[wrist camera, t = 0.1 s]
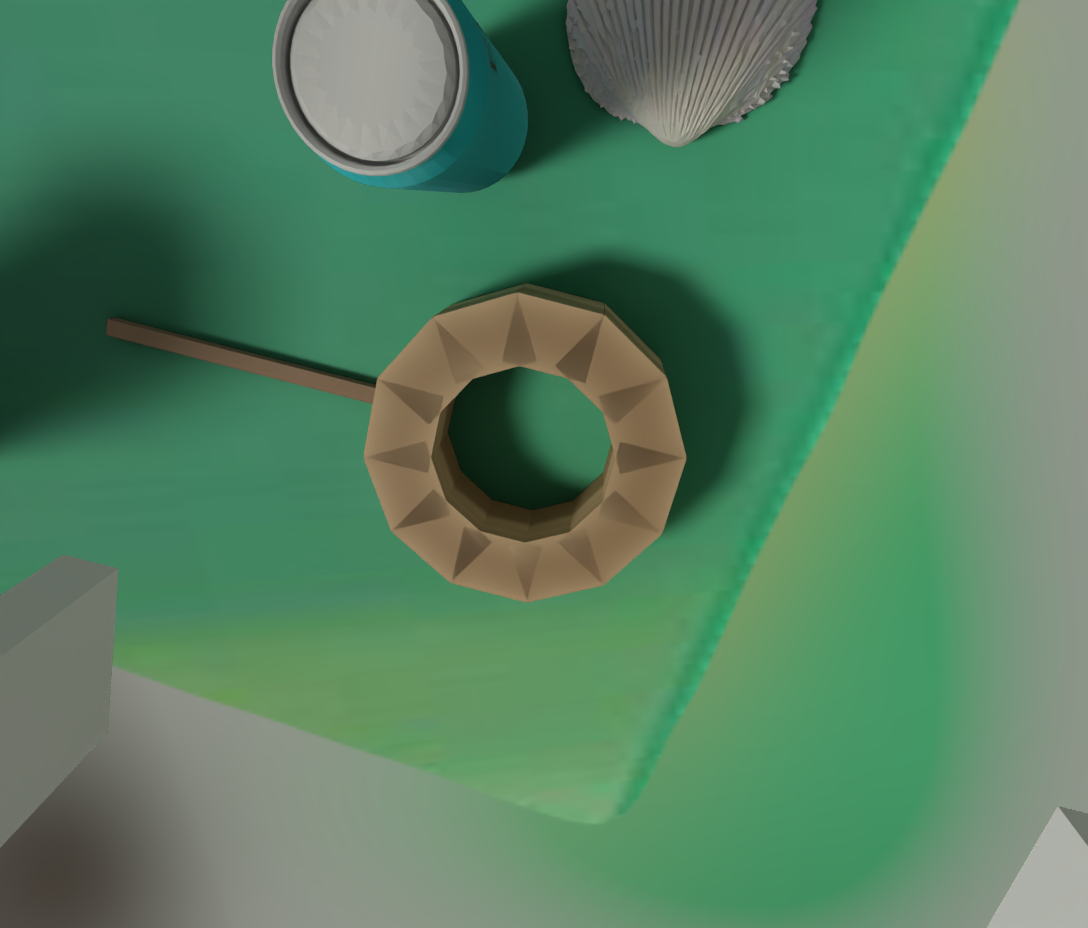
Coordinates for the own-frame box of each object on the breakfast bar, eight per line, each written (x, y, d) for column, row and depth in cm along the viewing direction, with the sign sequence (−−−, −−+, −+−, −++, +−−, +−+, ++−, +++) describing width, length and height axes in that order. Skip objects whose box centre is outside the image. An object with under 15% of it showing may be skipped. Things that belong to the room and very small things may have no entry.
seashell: (551, 148, 32) (565, -165, 26) (563, 129, 36) (577, -141, 31) (807, 165, 31) (873, -154, 26) (785, 142, 36) (837, -131, 30)
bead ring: (419, 255, 36) (397, 261, 32) (711, 330, 36) (723, 345, 32) (369, 523, 41) (346, 556, 37) (628, 589, 41) (631, 629, 37)
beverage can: (468, 19, 33) (363, -119, 19) (559, 128, 34) (525, 75, 20) (376, 120, 34) (215, 63, 20) (465, 220, 35) (372, 233, 21)
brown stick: (114, 317, 38) (107, 319, 38) (390, 388, 38) (387, 391, 38) (113, 333, 38) (106, 335, 38) (388, 403, 39) (384, 406, 38)
